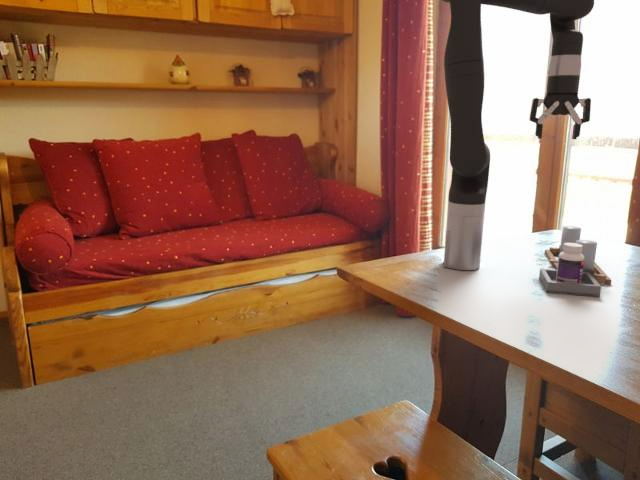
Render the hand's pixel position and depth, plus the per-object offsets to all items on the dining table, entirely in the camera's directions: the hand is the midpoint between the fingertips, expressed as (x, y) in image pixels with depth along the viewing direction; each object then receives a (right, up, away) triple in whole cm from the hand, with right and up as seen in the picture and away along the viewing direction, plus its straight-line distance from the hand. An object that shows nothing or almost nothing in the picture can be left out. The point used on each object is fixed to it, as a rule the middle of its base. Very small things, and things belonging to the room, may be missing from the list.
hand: (556, 138), depth 136 cm
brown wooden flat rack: (+5, -34, 0) cm, 35 cm away
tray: (-5, -38, -16) cm, 41 cm away
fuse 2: (+3, -36, -8) cm, 37 cm away
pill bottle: (-5, -38, -16) cm, 41 cm away
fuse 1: (+7, -32, +8) cm, 34 cm away
